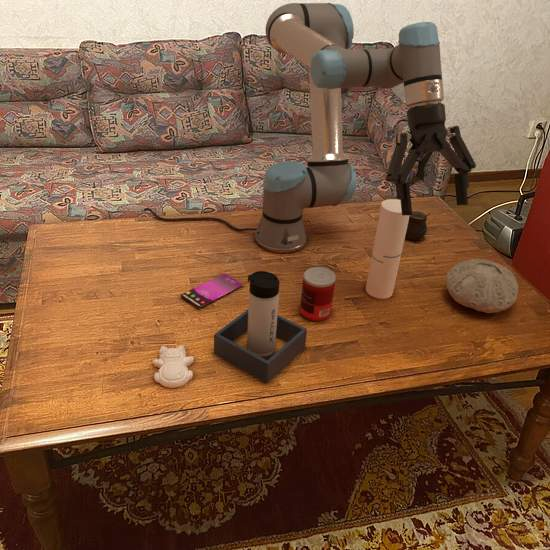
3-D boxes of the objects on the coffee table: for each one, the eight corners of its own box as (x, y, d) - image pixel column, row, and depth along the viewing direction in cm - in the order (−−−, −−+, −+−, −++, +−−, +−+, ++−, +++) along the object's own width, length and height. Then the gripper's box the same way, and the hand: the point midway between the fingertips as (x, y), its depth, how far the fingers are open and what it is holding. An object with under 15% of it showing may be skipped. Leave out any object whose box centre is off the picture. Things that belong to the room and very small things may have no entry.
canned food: (334, 307, 140) (339, 270, 134) (326, 325, 133) (331, 288, 127) (305, 299, 142) (309, 263, 135) (295, 317, 135) (299, 280, 129)
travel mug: (244, 341, 127) (247, 268, 116) (273, 341, 127) (278, 268, 116) (245, 360, 122) (248, 285, 111) (275, 359, 122) (281, 285, 111)
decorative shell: (494, 331, 135) (506, 298, 130) (429, 299, 145) (438, 267, 139) (523, 301, 147) (535, 269, 141) (461, 273, 156) (470, 243, 151)
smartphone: (179, 297, 139) (179, 294, 139) (224, 274, 149) (224, 271, 148) (199, 310, 135) (198, 307, 135) (243, 286, 145) (243, 283, 144)
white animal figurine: (195, 349, 124) (195, 338, 122) (192, 388, 114) (191, 377, 112) (155, 349, 123) (154, 338, 121) (148, 388, 113) (147, 377, 111)
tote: (213, 353, 123) (213, 334, 120) (254, 321, 133) (255, 303, 130) (266, 383, 116) (268, 364, 113) (305, 347, 126) (307, 329, 123)
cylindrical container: (392, 300, 144) (411, 214, 130) (364, 296, 144) (380, 210, 131) (393, 285, 149) (411, 201, 135) (366, 281, 150) (381, 197, 136)
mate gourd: (407, 229, 176) (413, 200, 171) (429, 237, 173) (436, 208, 167) (397, 237, 171) (403, 208, 166) (420, 246, 168) (426, 216, 162)
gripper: (380, 108, 105) (392, 220, 109) (488, 96, 112) (496, 200, 116) (361, 114, 112) (373, 219, 116) (464, 102, 120) (472, 200, 123)
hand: (435, 210), depth 116 cm, fingers open, 13 cm apart
